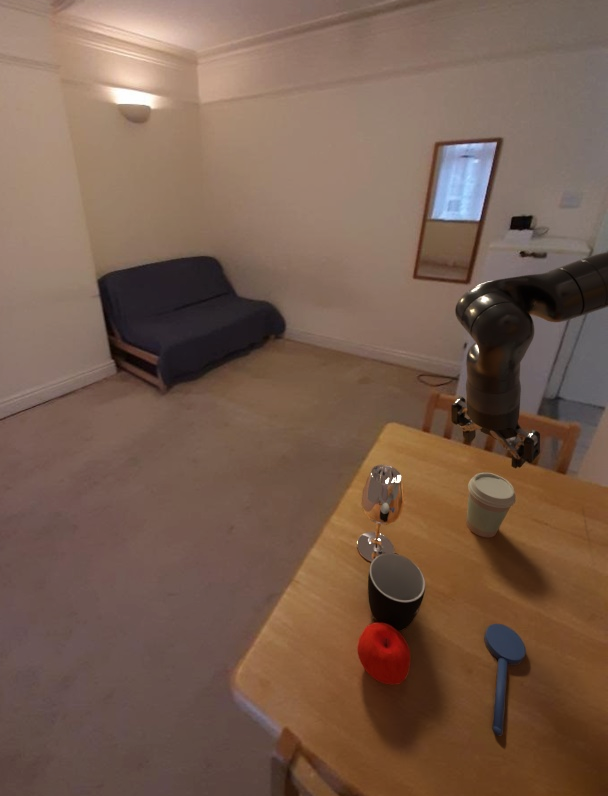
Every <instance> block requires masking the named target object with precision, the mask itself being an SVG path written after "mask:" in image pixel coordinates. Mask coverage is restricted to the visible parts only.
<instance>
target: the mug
mask: <svg viewBox="0 0 608 796" xmlns="http://www.w3.org/2000/svg"><path fill="white" fill-rule="evenodd" d="M367 576H368V579H367V597H368V604H369V610H370V612H371V615H372V617H373V619H374V620H375V621H376V623H386V624H388V625H391V626H392V627H393V628H395V629H396V630H397V631H399V632H402V631H404V630H406V629H407V628H408V627H410V626H411V625H412V623H413V622H414V620H415V618H416V617H417V615H418V613H419V610H420V607H421V605H422V602H423V599H424V596H425V592H426V579H425V576H424V574H423V572H422V570H421V569H420V568H419V566H418V565H417V564H416V563H415V562H413V561H412V560H411V559H409V558H408V557H406V556H404V555H401V554H399V553H397V552H395V553H385V554H381V555H379V556H377V557H376V558H375V559H374V560H373V561H372V562H370V565H369V568H368V575H367Z"/></svg>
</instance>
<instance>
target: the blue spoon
mask: <svg viewBox="0 0 608 796" xmlns="http://www.w3.org/2000/svg"><path fill="white" fill-rule="evenodd" d="M483 637H484V643H485V646H486V648H487V650H488V651H489V653H490V654H491V655H492V656H493V657H494V658H495V659H497V660H498V662H497V673H496V685H495V695H494V707H493V708H494V709H493V718H492V731H493V733H494V734H495V735H496V736H497V737H499V736H500V737H501V736H503V732H504V721H505V720H504V718H505V705H506V703H505V702H506V690H507V689H506V688H507V675H508V674H507V673H508V665H509V666H517V665H520V664H521V663H522V662H523V660H524V658H525V656H526V653H527V652H526V646H525V643H524V641H523V639H522V638H521V636H520V635H519V634H518V633H517V632H516V631H515V630H513V628H510V627H509V626H507V625H505V624H502V623H492V624H490V625H488V626H487V628H486V631H485V633H484V636H483Z"/></svg>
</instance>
